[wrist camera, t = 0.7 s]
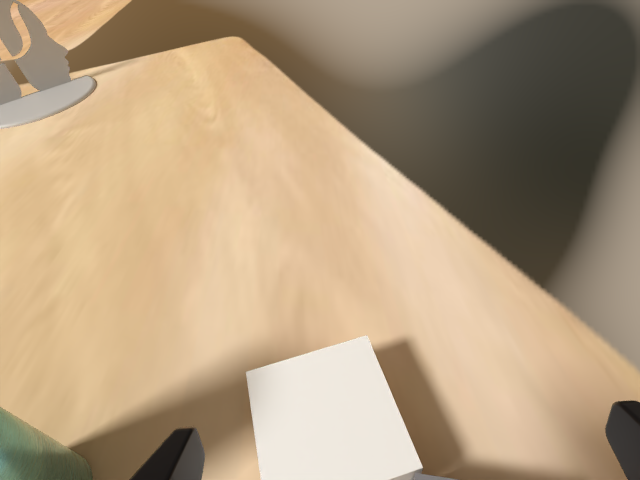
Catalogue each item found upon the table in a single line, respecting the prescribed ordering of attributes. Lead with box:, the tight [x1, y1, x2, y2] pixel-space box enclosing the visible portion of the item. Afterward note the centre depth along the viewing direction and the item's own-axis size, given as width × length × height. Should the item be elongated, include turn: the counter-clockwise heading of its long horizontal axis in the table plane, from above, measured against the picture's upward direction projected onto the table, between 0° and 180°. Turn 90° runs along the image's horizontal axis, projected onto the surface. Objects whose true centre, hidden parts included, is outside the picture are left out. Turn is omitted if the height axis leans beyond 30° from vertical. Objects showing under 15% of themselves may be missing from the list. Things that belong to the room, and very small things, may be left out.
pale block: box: [246, 335, 423, 480], centre depth 23 cm, size 8×8×3 cm
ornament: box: [0, 0, 96, 129], centre depth 62 cm, size 22×13×17 cm, turn 131°
